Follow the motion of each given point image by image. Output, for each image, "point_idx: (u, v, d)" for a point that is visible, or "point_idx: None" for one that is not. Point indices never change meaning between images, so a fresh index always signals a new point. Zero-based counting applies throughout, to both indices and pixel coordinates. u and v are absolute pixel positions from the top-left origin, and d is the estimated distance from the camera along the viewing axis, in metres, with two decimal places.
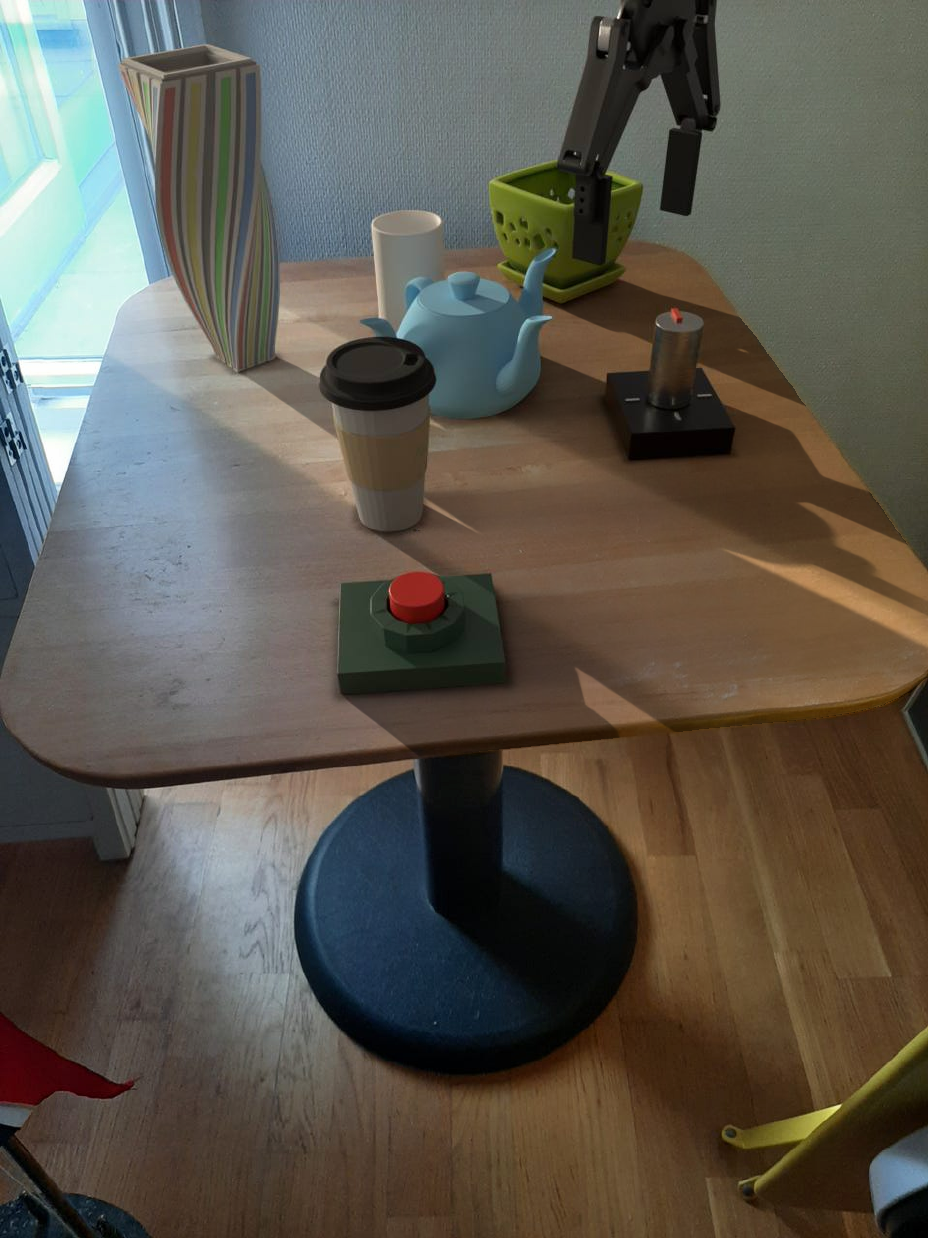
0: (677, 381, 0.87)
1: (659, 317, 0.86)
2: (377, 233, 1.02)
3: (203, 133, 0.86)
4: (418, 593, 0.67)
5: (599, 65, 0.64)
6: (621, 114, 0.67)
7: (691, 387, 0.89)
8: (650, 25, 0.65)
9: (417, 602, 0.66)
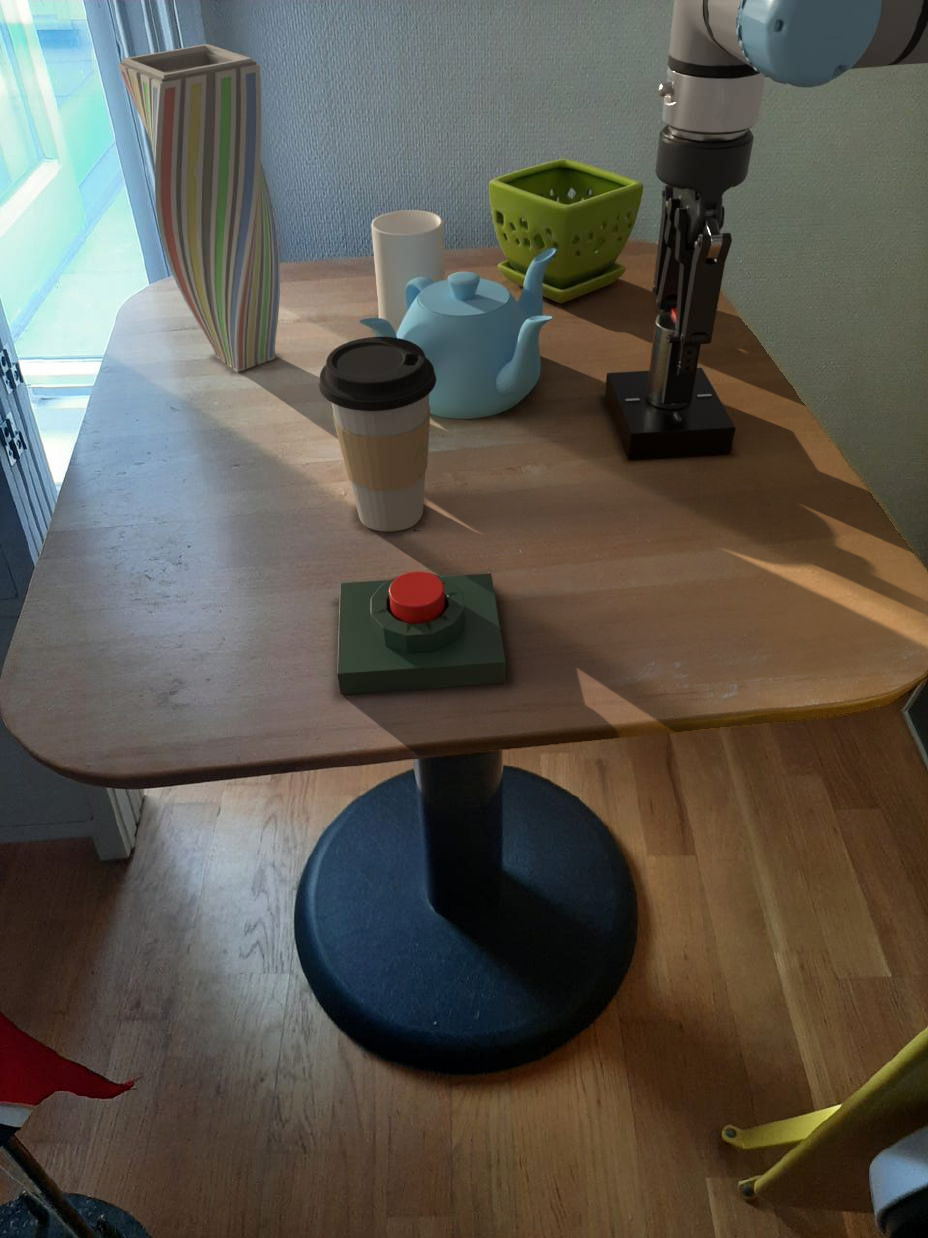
0: None
1: (659, 317, 0.86)
2: (377, 233, 1.02)
3: (203, 133, 0.86)
4: (418, 593, 0.67)
5: (710, 269, 0.76)
6: None
7: None
8: None
9: (417, 602, 0.66)
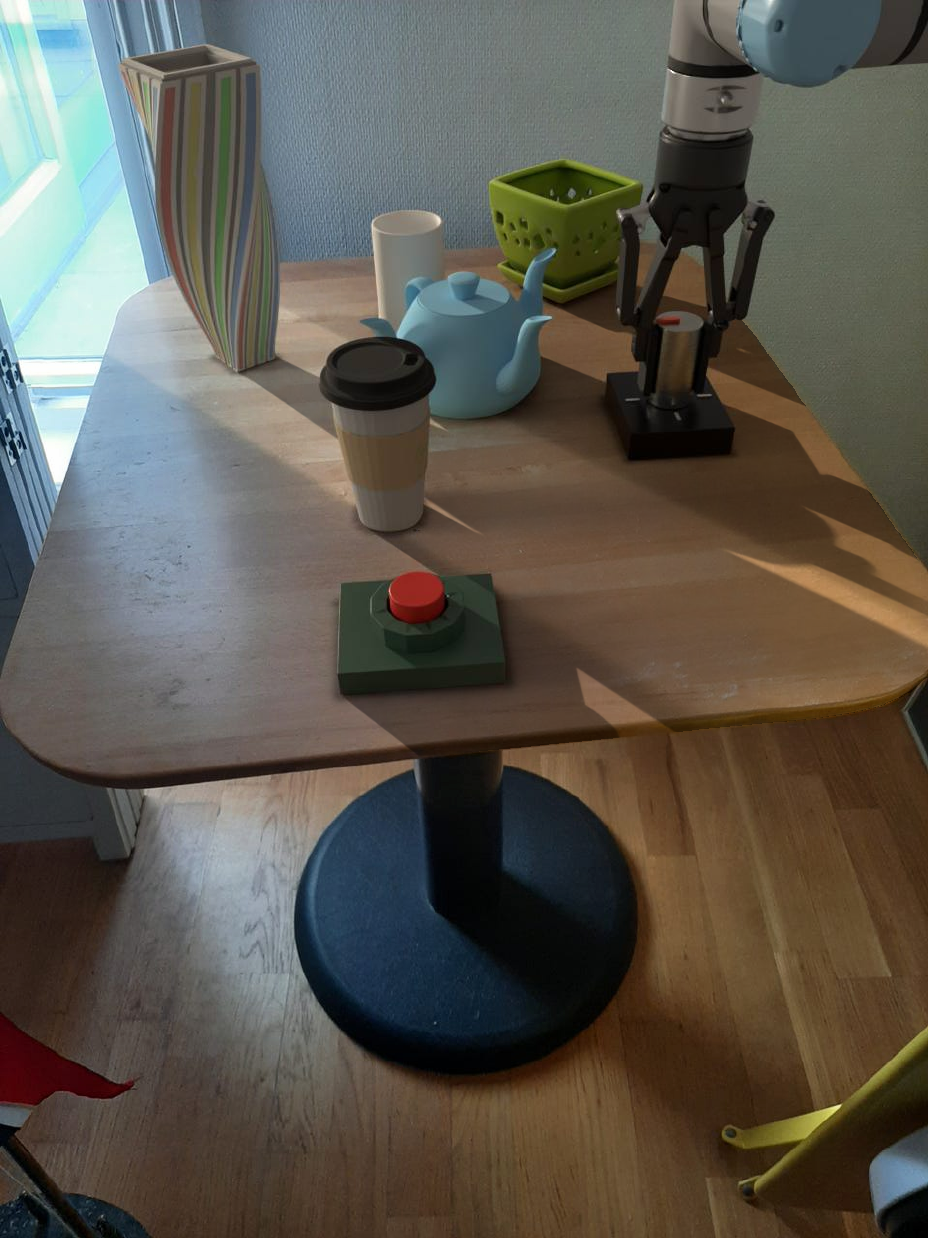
0: None
1: (673, 329, 0.84)
2: (377, 233, 1.02)
3: (203, 133, 0.86)
4: (418, 593, 0.67)
5: None
6: None
7: None
8: None
9: (417, 602, 0.66)
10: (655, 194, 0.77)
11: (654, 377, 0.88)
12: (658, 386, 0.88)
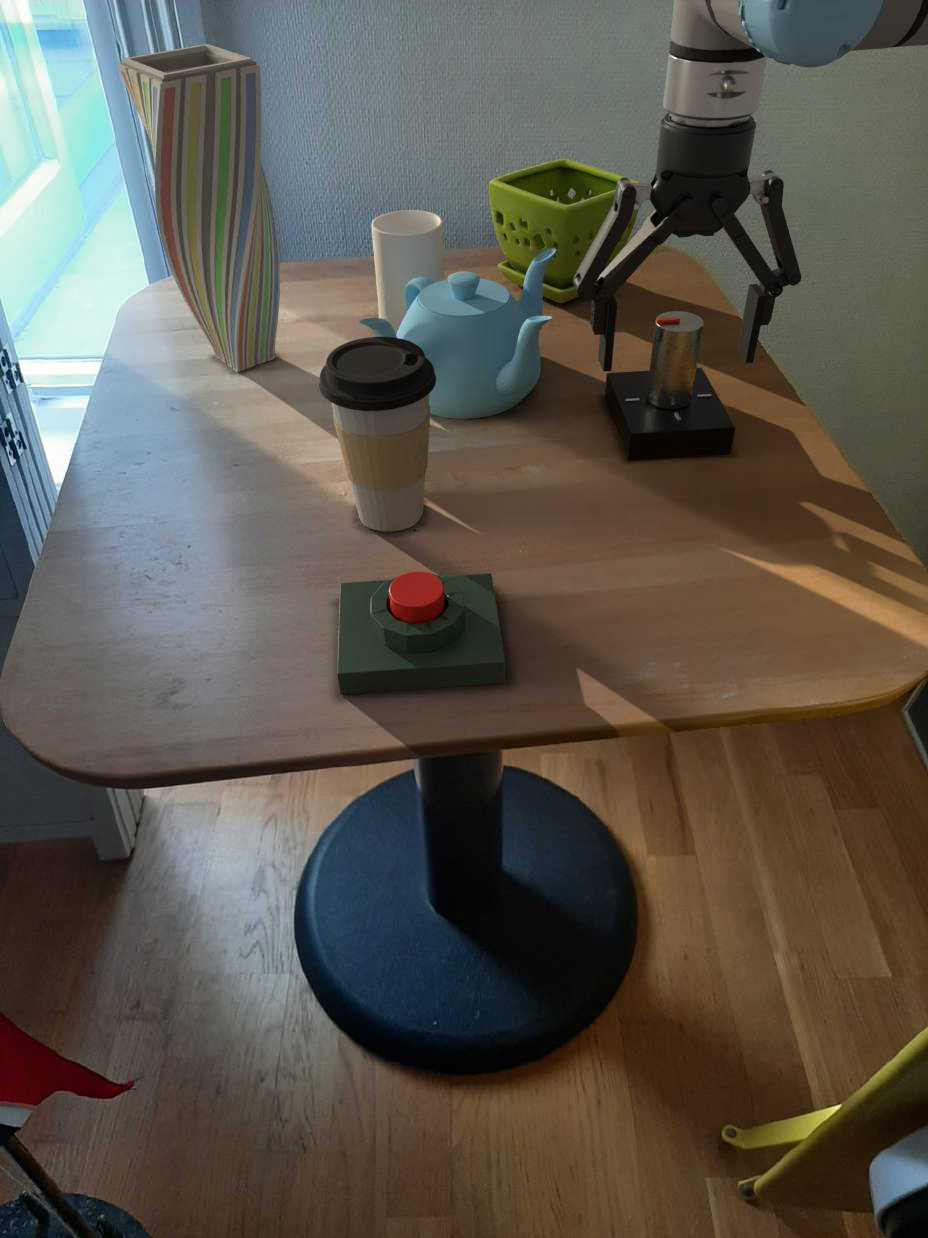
0: None
1: (673, 329, 0.84)
2: (377, 233, 1.02)
3: (203, 133, 0.86)
4: (418, 593, 0.67)
5: None
6: None
7: None
8: None
9: (417, 602, 0.66)
10: (657, 182, 0.76)
11: (654, 377, 0.88)
12: (658, 386, 0.88)
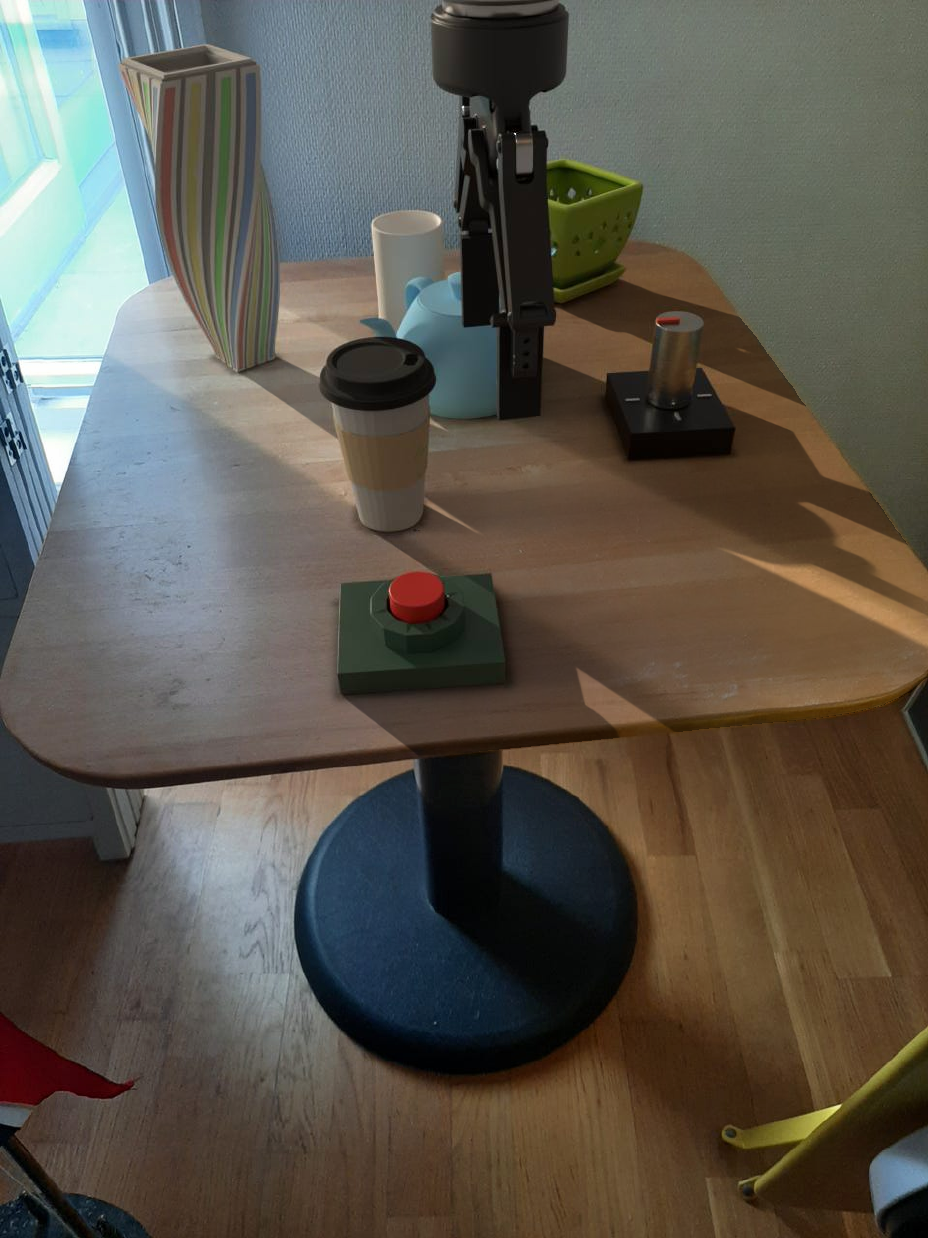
0: None
1: (673, 329, 0.84)
2: (377, 233, 1.02)
3: (203, 133, 0.86)
4: (418, 593, 0.67)
5: (526, 192, 0.49)
6: None
7: None
8: None
9: (417, 602, 0.66)
10: None
11: (654, 377, 0.88)
12: (658, 386, 0.88)
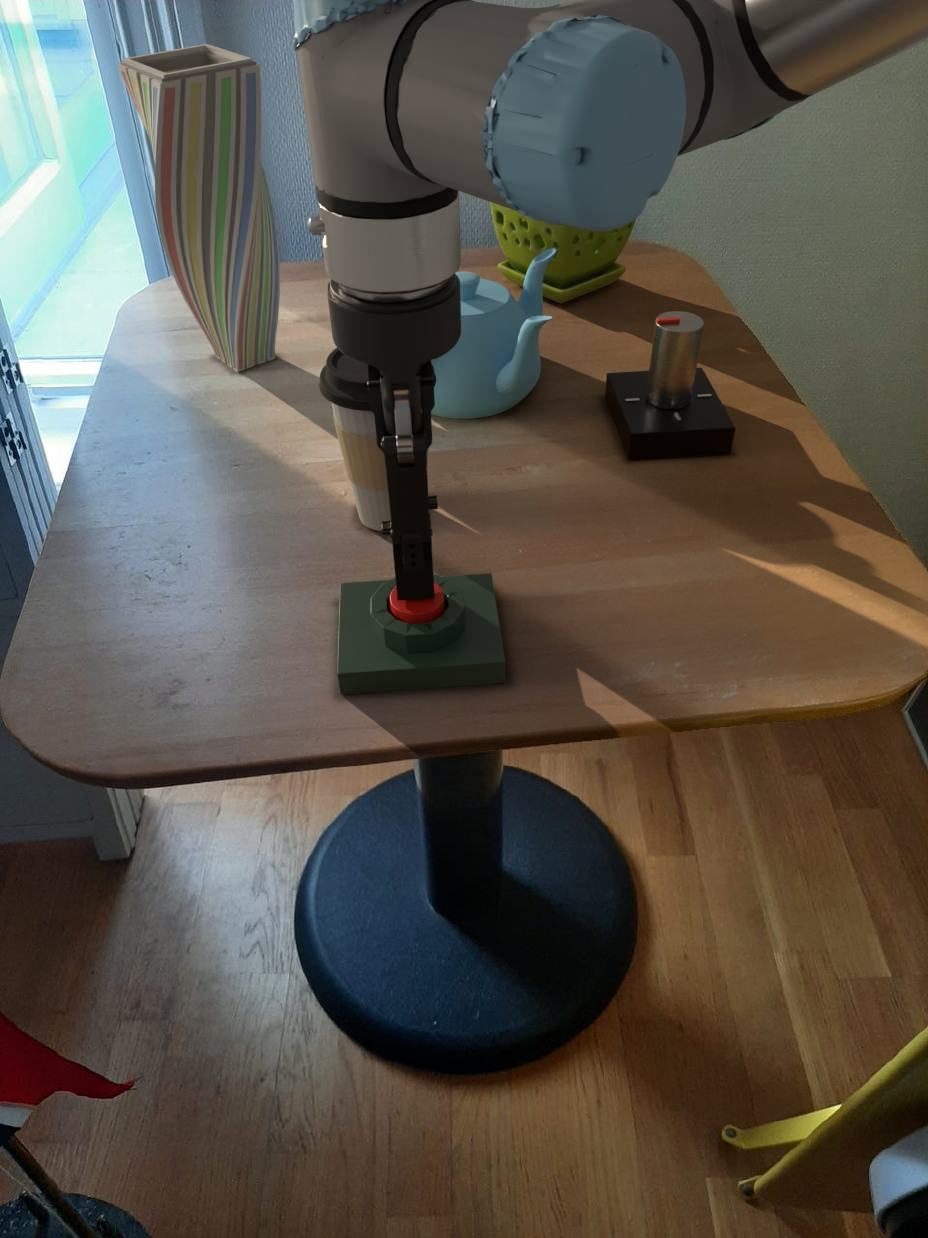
0: None
1: (673, 329, 0.84)
2: None
3: (203, 133, 0.86)
4: (418, 600, 0.67)
5: (407, 473, 0.54)
6: None
7: None
8: None
9: (417, 609, 0.66)
10: None
11: (654, 377, 0.88)
12: (658, 386, 0.88)
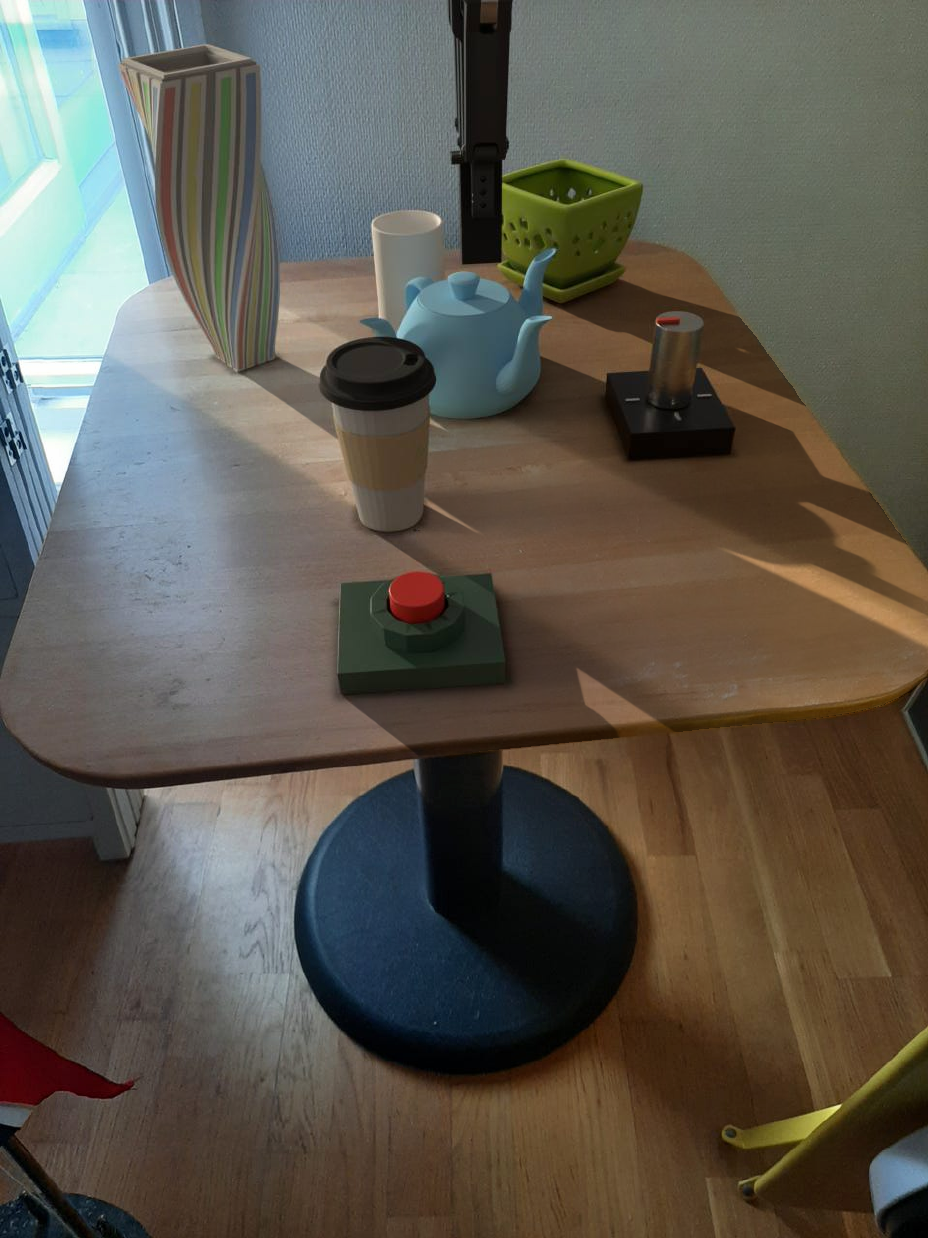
0: None
1: (673, 329, 0.84)
2: (377, 233, 1.02)
3: (203, 133, 0.86)
4: (418, 593, 0.67)
5: (488, 42, 0.50)
6: None
7: None
8: None
9: (417, 602, 0.66)
10: None
11: (654, 377, 0.88)
12: (658, 386, 0.88)
